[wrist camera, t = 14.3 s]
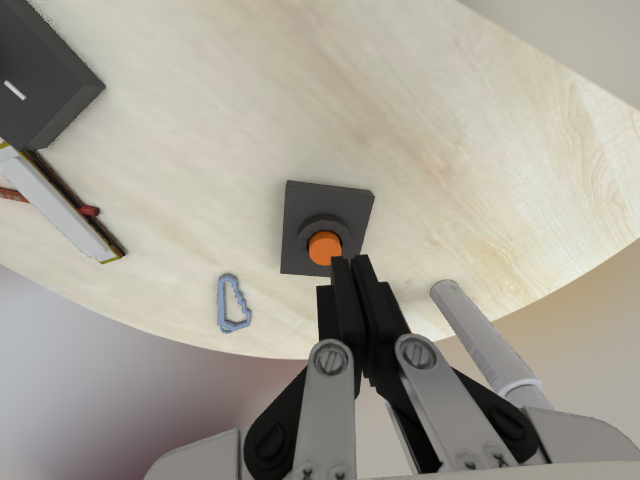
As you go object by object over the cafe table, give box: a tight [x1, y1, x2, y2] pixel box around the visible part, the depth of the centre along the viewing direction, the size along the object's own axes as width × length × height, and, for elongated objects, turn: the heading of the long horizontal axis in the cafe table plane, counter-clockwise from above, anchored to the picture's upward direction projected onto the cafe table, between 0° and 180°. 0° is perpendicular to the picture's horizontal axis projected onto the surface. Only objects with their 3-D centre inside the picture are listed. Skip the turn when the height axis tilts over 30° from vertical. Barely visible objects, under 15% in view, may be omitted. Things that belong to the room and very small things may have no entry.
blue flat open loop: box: [217, 275, 251, 333], centre depth 35 cm, size 12×1×5 cm
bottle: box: [430, 280, 557, 411], centre depth 28 cm, size 4×4×20 cm
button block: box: [280, 181, 375, 277], centre depth 28 cm, size 12×10×4 cm
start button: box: [309, 231, 342, 265], centre depth 26 cm, size 4×4×2 cm
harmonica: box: [0, 142, 126, 264], centre depth 26 cm, size 15×3×2 cm, turn 18°
